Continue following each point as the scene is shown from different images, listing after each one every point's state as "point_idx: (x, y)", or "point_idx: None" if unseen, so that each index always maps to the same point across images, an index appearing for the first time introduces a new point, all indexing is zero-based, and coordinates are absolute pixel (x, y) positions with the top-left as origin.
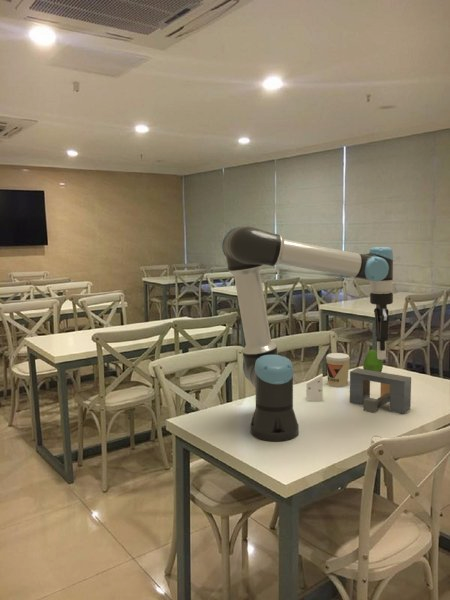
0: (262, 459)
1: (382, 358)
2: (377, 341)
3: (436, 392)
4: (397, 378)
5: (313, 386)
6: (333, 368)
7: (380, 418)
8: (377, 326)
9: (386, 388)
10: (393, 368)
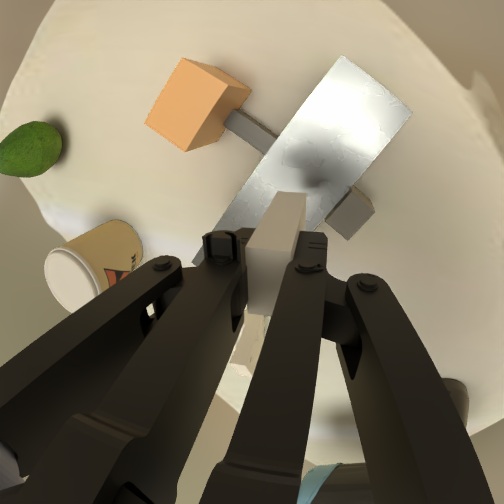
0: (500, 410)
1: (305, 217)
2: (265, 310)
3: None
4: (362, 127)
5: (255, 359)
6: None
7: (414, 195)
8: (198, 421)
9: (215, 127)
10: (9, 91)
